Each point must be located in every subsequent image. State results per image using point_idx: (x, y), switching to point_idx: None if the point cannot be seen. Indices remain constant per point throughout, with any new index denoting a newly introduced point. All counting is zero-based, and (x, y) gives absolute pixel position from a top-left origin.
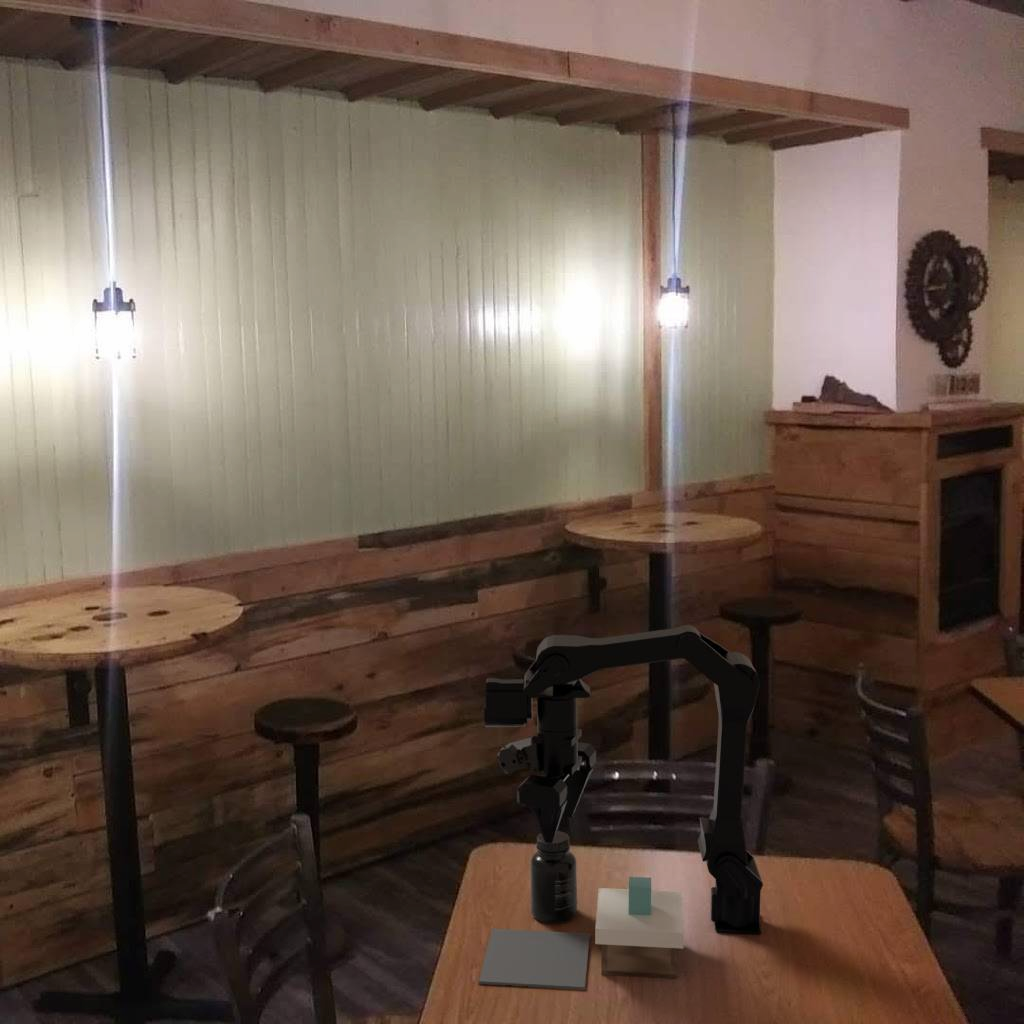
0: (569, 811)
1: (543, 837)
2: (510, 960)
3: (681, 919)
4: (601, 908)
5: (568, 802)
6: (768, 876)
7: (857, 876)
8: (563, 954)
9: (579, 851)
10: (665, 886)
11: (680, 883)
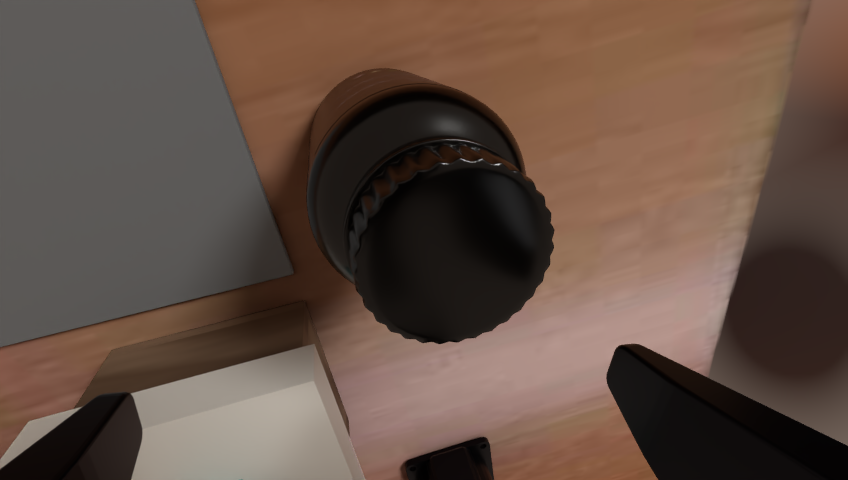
0: (637, 403)
1: (53, 431)
2: None
3: None
4: (161, 436)
5: (699, 460)
6: (621, 457)
7: None
8: (138, 247)
9: (756, 108)
10: (575, 340)
11: (589, 359)
